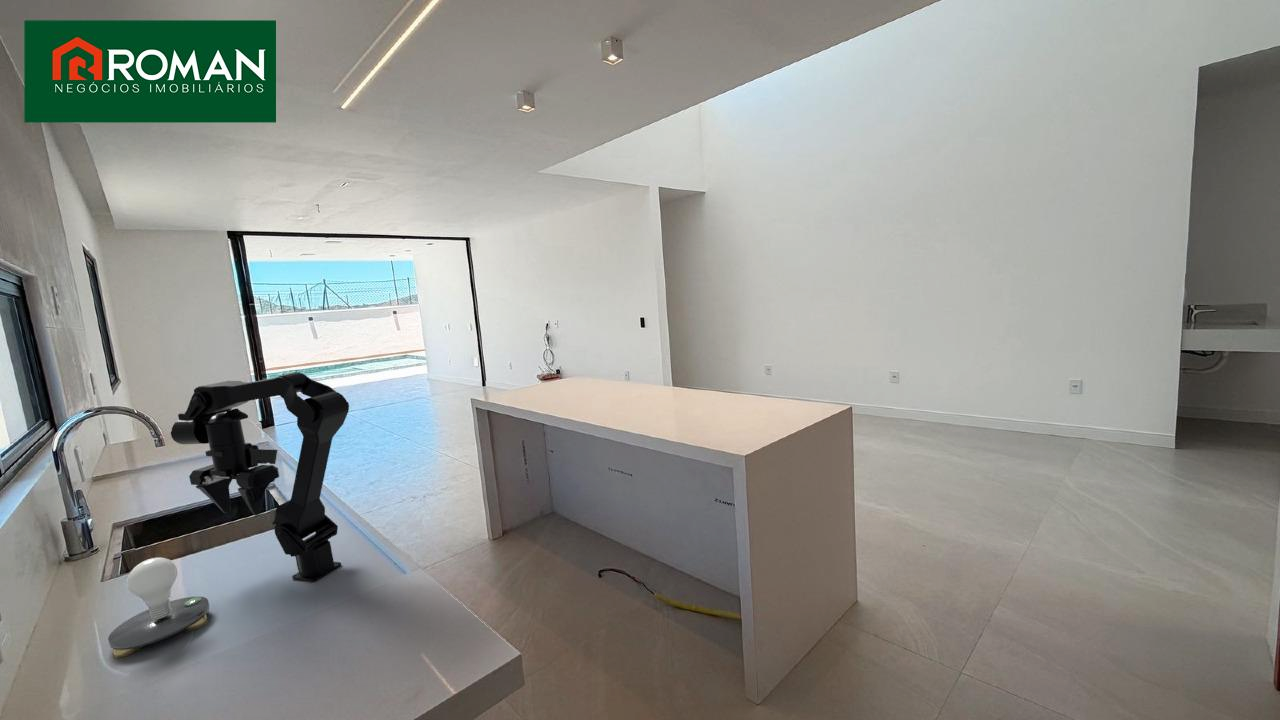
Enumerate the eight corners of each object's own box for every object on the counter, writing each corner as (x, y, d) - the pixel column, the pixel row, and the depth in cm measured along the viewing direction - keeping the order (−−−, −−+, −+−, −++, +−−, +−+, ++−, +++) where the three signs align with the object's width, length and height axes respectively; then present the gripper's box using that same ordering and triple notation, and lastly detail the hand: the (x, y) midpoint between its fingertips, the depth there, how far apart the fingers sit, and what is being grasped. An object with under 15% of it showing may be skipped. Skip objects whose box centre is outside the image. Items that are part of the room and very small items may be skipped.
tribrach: (228, 613, 94) (225, 600, 94) (140, 663, 82) (137, 649, 81) (182, 605, 98) (179, 592, 98) (92, 652, 86) (89, 638, 85)
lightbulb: (194, 609, 92) (181, 552, 90) (151, 632, 86) (136, 571, 84) (172, 605, 94) (159, 549, 92) (128, 627, 88) (114, 568, 86)
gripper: (296, 431, 110) (309, 499, 112) (237, 431, 116) (250, 496, 118) (242, 447, 100) (258, 522, 102) (180, 446, 106) (196, 517, 108)
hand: (242, 513), depth 108 cm, fingers open, 9 cm apart
